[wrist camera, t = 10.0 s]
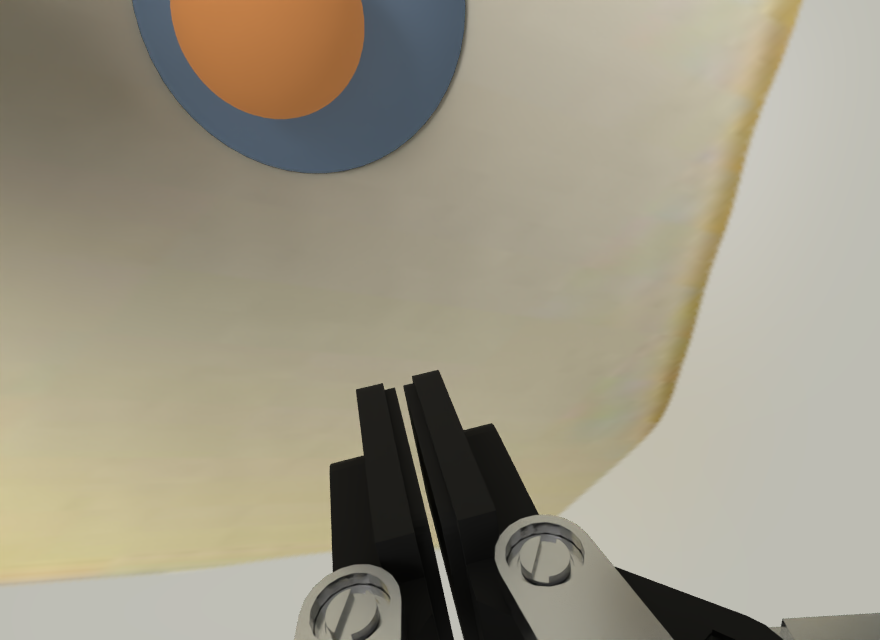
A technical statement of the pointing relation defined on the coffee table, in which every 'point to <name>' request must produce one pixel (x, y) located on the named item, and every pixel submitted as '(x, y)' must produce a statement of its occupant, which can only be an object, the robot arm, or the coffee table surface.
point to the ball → (272, 51)
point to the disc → (352, 112)
